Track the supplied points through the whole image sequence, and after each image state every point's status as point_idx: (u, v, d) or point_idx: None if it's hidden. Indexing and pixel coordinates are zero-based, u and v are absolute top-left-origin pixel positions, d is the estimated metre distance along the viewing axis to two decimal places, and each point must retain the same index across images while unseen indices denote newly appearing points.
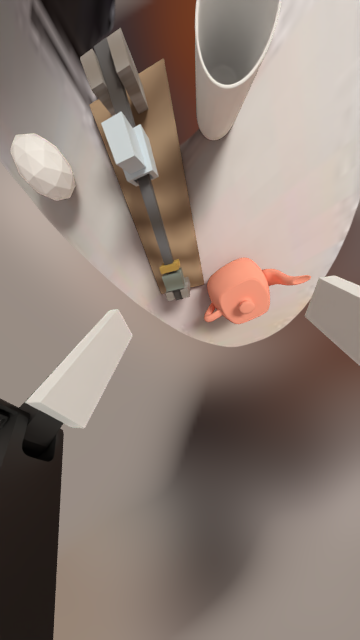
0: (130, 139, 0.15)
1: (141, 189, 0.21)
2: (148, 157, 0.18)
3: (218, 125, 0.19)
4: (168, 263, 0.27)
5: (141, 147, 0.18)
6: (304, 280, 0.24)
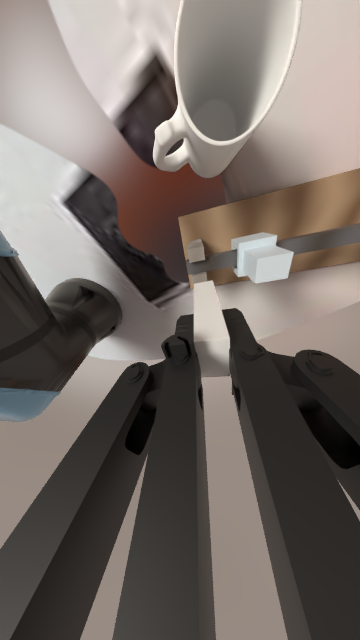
0: (276, 254, 0.13)
1: None
2: (265, 239, 0.16)
3: None
4: None
5: (254, 246, 0.16)
6: None
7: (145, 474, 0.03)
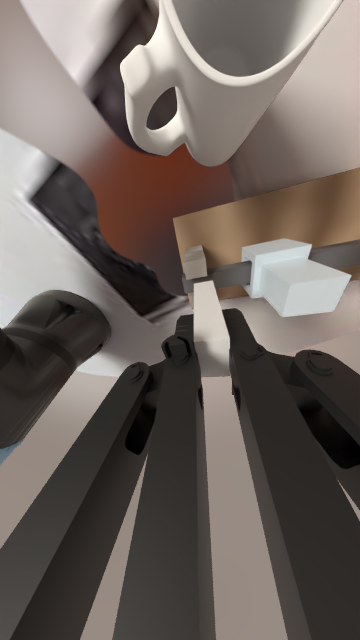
0: (320, 277, 0.08)
1: None
2: (293, 249, 0.11)
3: None
4: None
5: (277, 259, 0.11)
6: None
7: (145, 474, 0.03)
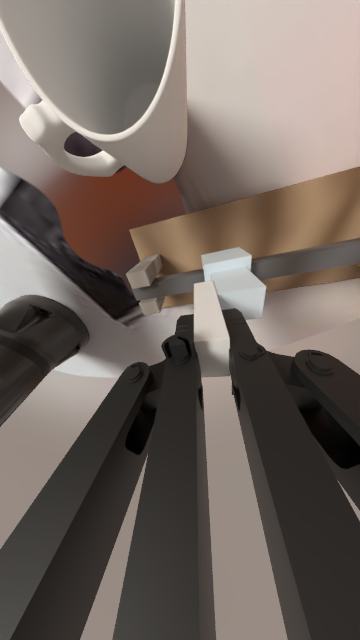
0: (242, 288, 0.09)
1: None
2: (236, 259, 0.12)
3: (186, 112, 0.10)
4: None
5: (223, 268, 0.12)
6: None
7: (145, 474, 0.03)
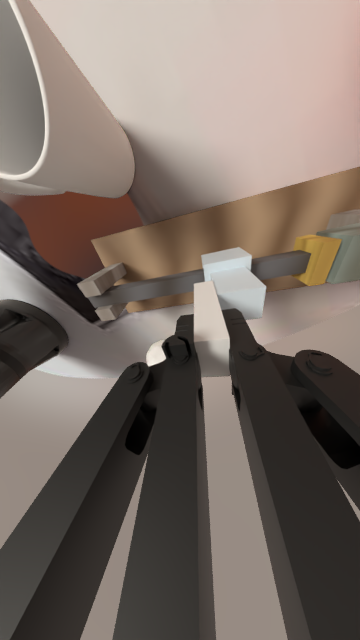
0: (242, 288, 0.09)
1: (185, 290, 0.15)
2: (236, 259, 0.12)
3: (115, 141, 0.11)
4: (305, 263, 0.13)
5: (223, 268, 0.12)
6: None
7: (145, 474, 0.03)
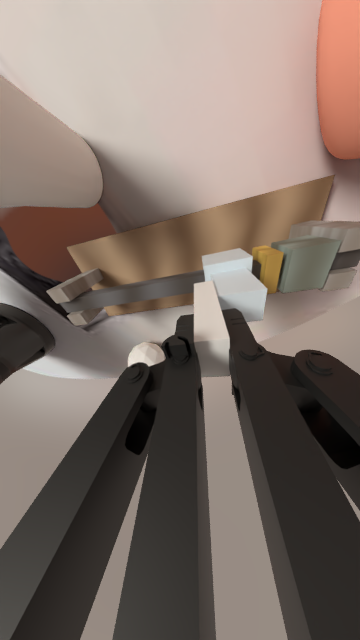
0: (243, 290, 0.09)
1: (150, 297, 0.16)
2: (237, 261, 0.12)
3: (72, 159, 0.12)
4: (258, 273, 0.13)
5: (224, 269, 0.12)
6: None
7: (145, 474, 0.03)
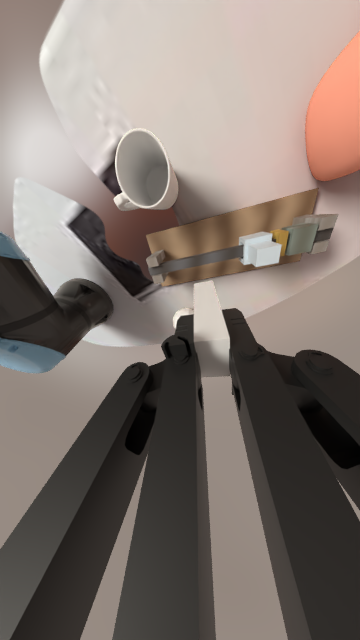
0: (270, 246, 0.19)
1: (207, 262, 0.26)
2: (263, 236, 0.22)
3: (175, 184, 0.22)
4: None
5: (256, 241, 0.22)
6: None
7: (145, 474, 0.03)
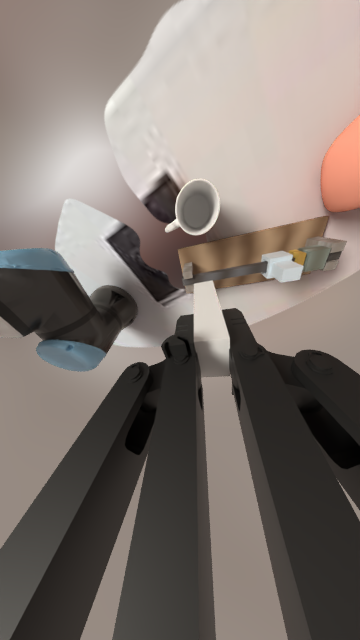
0: (293, 267, 0.24)
1: (234, 276, 0.31)
2: (285, 256, 0.27)
3: (213, 212, 0.27)
4: None
5: (279, 260, 0.27)
6: None
7: (145, 474, 0.03)
